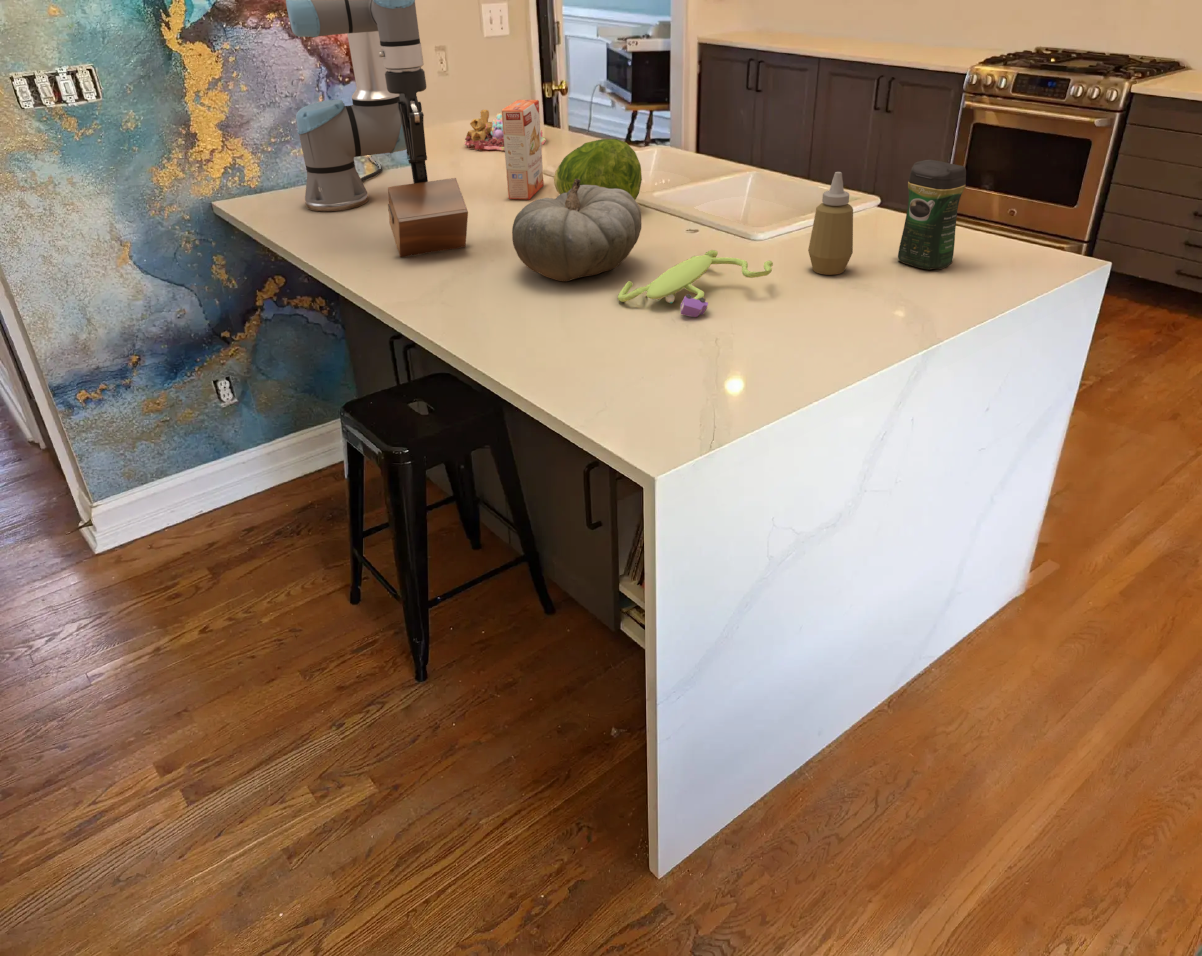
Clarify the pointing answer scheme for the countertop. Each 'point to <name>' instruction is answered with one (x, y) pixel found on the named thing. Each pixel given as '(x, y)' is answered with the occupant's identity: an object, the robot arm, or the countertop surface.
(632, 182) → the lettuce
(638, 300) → the countertop surface
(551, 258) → the gourd
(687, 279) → the figurine
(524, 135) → the cracker box
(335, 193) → the robot arm
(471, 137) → the coral reef ornament
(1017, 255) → the countertop surface
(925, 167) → the coffee jar
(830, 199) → the squeeze bottle
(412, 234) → the wooden storage crate
